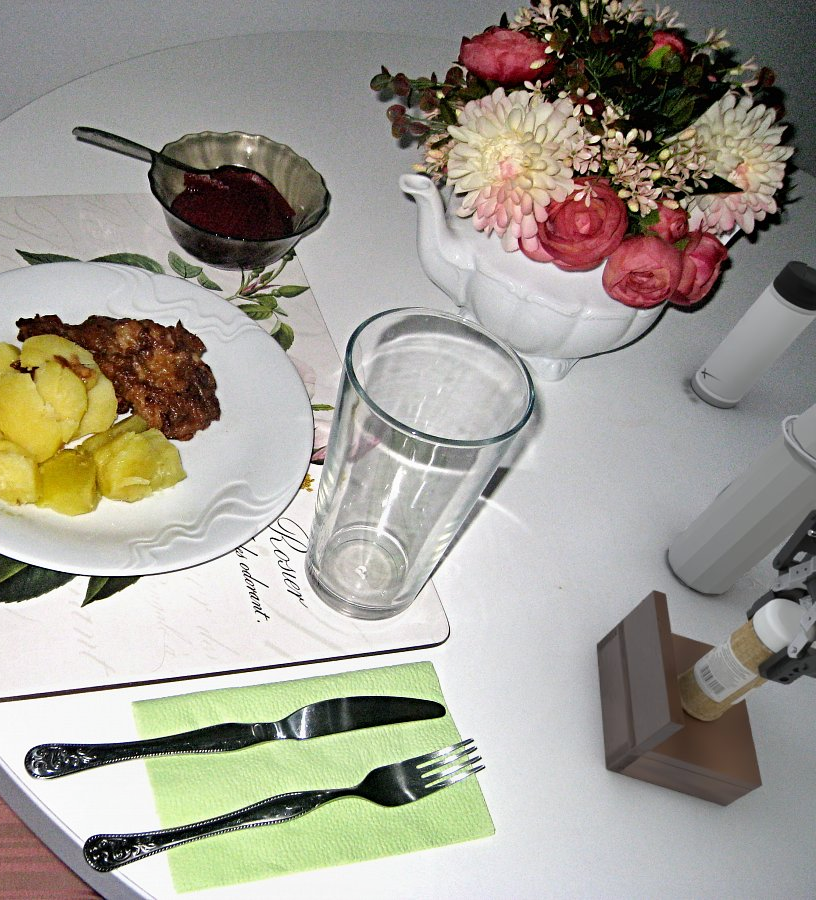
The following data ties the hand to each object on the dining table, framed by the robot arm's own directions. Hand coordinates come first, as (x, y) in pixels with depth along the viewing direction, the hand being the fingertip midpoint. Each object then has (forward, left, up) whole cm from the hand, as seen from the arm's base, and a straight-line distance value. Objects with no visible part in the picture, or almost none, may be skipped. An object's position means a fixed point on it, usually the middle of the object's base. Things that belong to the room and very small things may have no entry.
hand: (763, 647), depth 72 cm
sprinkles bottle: (0, 0, -10) cm, 10 cm away
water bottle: (-6, -21, -15) cm, 26 cm away
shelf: (+1, 0, -14) cm, 14 cm away
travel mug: (-13, -52, -15) cm, 55 cm away
